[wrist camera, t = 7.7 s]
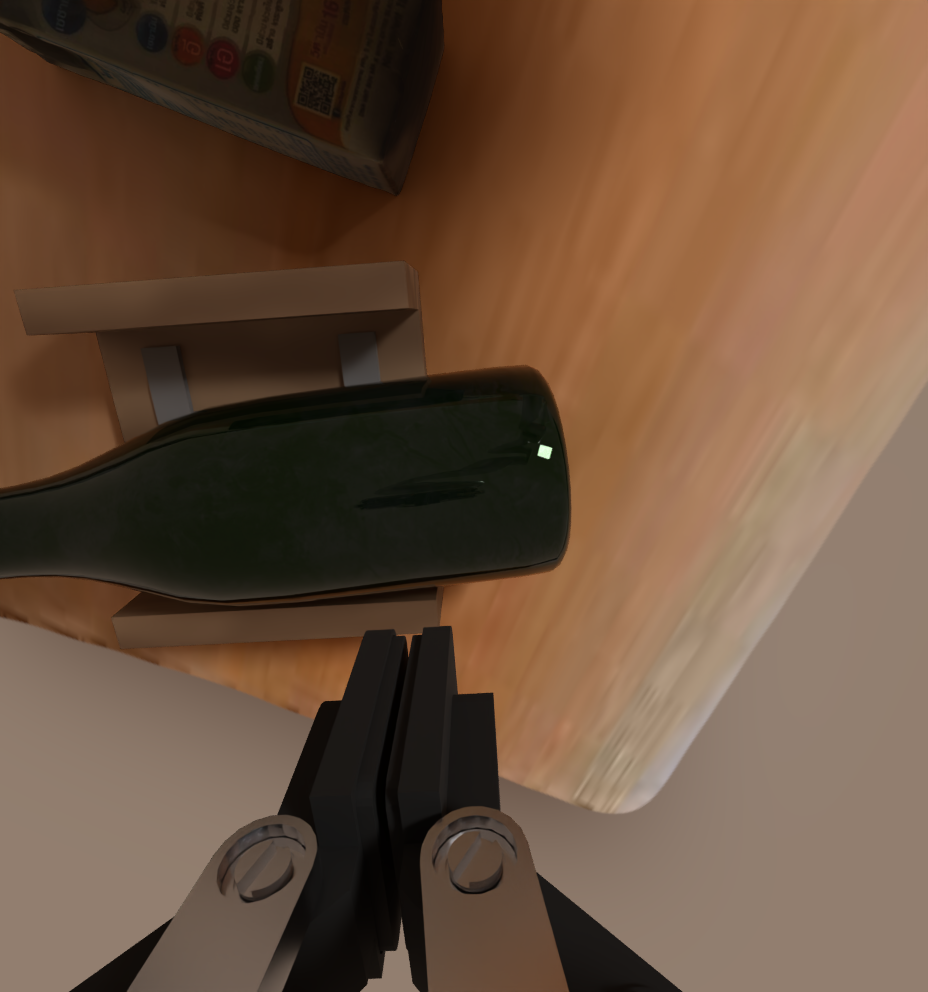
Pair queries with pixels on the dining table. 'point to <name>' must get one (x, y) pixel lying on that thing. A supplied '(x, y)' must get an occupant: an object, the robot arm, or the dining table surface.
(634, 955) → the robot arm
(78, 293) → the cradle
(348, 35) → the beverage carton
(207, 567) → the beer bottle
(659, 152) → the dining table surface
